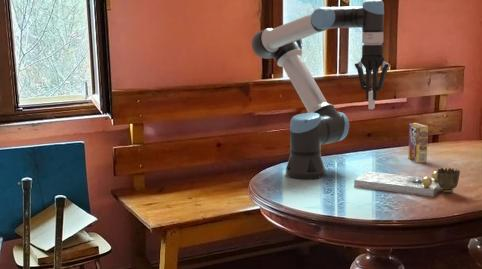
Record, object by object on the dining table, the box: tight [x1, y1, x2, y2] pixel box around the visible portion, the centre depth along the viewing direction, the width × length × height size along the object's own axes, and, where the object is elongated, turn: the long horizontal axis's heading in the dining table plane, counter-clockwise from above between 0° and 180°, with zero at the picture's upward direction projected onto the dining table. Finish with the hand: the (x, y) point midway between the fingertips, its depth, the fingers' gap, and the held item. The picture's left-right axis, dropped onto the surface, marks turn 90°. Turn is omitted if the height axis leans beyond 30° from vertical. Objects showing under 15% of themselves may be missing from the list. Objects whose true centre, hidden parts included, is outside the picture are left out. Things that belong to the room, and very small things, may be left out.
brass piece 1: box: [422, 176, 432, 187], centre depth 212 cm, size 3×3×3 cm
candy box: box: [407, 122, 429, 164], centre depth 260 cm, size 9×4×15 cm, turn 13°
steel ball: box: [414, 179, 422, 184], centre depth 219 cm, size 3×3×3 cm
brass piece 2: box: [430, 170, 438, 181], centre depth 220 cm, size 3×3×3 cm
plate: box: [353, 171, 443, 198], centre depth 222 cm, size 28×14×2 cm, turn 59°
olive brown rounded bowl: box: [436, 167, 461, 195], centre depth 213 cm, size 8×7×8 cm
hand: (371, 108), depth 230 cm, fingers closed
